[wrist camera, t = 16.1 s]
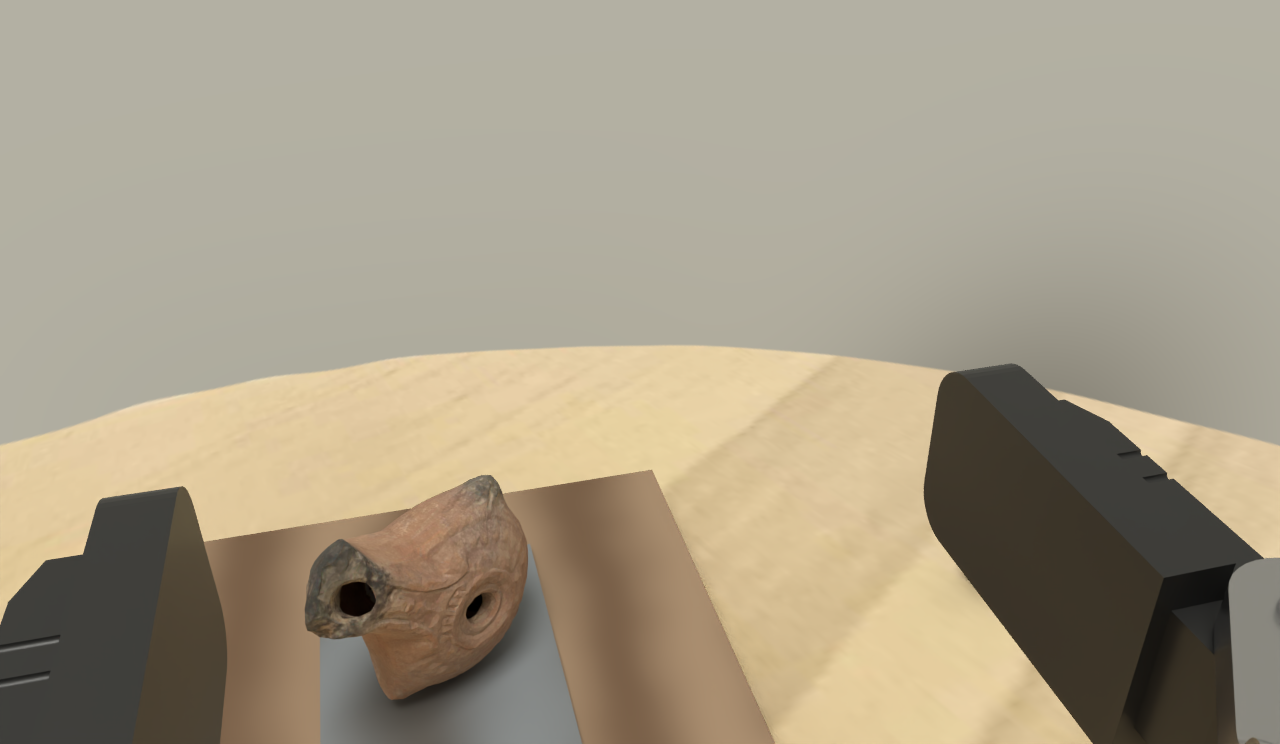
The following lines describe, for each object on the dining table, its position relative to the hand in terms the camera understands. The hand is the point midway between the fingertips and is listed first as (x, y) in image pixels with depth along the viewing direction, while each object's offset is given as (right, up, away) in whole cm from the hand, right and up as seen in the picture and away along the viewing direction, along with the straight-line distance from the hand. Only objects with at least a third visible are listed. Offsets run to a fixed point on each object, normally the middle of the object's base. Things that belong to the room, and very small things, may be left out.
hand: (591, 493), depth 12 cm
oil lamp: (-6, -9, +25) cm, 28 cm away
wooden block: (-7, -11, +29) cm, 31 cm away
